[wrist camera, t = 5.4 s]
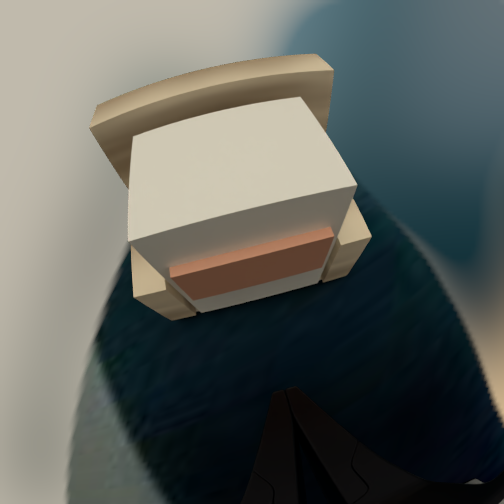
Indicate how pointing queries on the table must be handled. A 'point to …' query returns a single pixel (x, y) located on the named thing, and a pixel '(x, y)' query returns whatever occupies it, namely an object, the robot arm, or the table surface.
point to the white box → (238, 202)
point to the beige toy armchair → (207, 101)
